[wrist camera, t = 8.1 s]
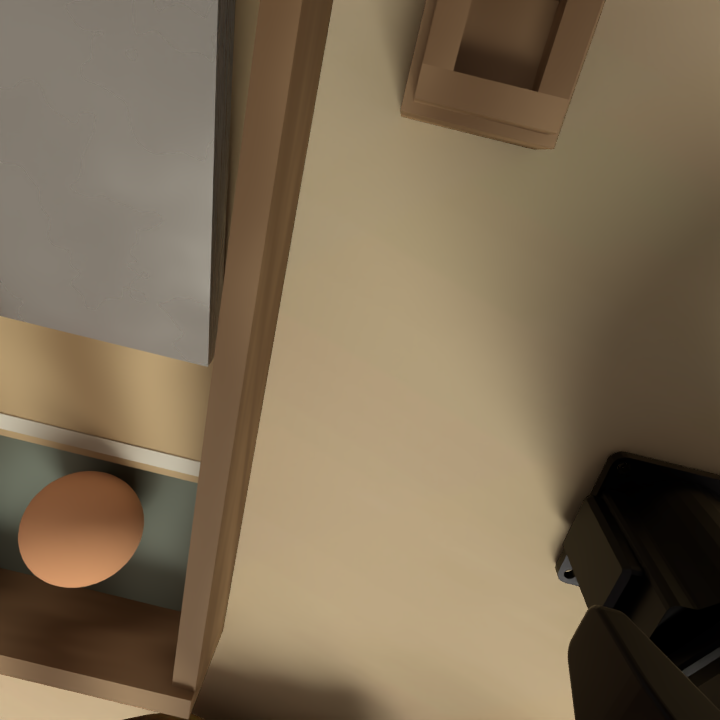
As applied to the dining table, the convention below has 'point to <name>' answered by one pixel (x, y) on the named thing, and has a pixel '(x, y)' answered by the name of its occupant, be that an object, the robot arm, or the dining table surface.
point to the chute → (116, 169)
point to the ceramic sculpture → (164, 717)
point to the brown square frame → (500, 66)
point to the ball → (81, 529)
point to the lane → (163, 416)
